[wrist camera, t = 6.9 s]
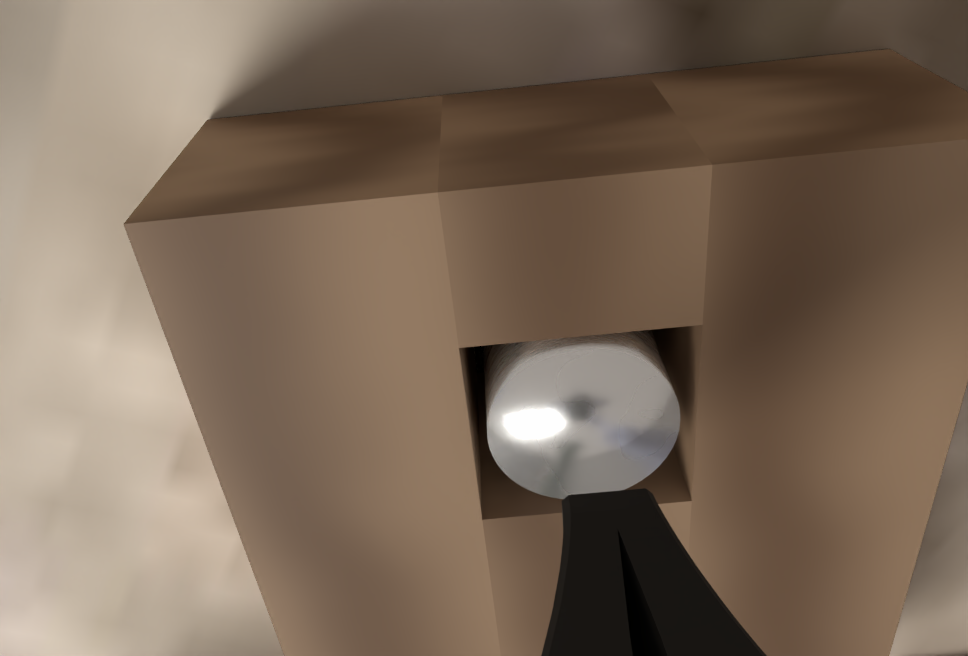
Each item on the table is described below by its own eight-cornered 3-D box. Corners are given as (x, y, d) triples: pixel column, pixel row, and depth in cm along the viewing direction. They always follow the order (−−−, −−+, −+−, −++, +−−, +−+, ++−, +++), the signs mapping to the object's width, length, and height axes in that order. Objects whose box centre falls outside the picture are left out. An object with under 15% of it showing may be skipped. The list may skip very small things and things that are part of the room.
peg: (634, 223, 18) (683, 340, 14) (633, 355, 20) (677, 491, 16) (473, 239, 18) (477, 360, 14) (488, 369, 20) (496, 507, 16)
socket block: (889, 48, 16) (1039, 132, 12) (784, 656, 27) (844, 811, 23) (207, 120, 17) (123, 224, 12) (372, 690, 28) (356, 849, 23)
